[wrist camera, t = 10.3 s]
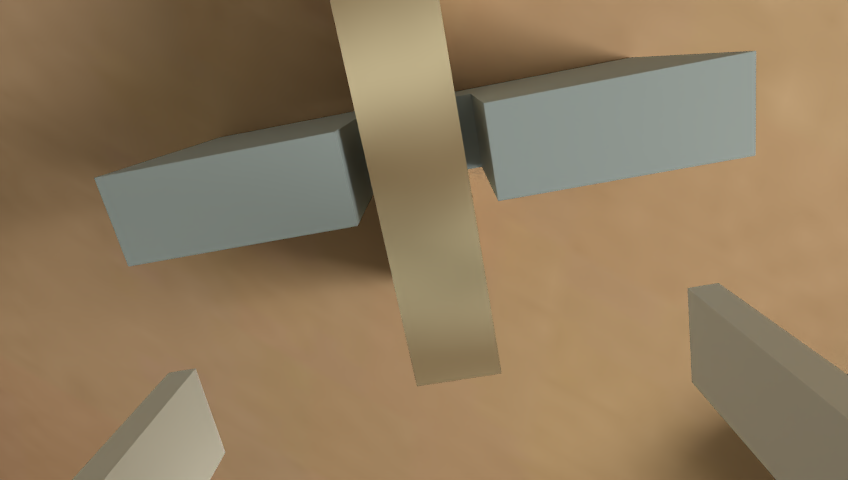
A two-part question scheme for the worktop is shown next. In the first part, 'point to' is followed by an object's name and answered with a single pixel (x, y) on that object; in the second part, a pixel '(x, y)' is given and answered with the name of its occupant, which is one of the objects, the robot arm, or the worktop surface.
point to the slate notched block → (483, 144)
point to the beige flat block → (420, 182)
